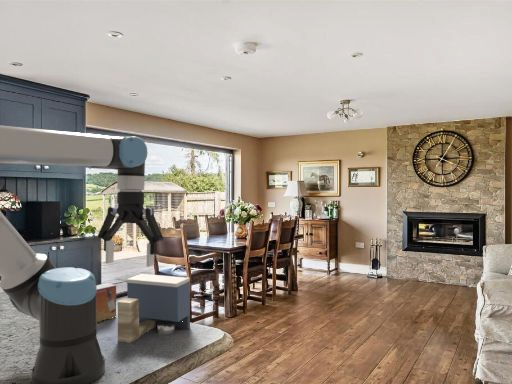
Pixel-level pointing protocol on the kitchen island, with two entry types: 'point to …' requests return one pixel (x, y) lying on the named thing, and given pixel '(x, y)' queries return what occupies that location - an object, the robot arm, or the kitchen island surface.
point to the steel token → (166, 327)
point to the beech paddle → (131, 321)
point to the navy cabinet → (161, 298)
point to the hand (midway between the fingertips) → (129, 264)
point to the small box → (105, 301)
